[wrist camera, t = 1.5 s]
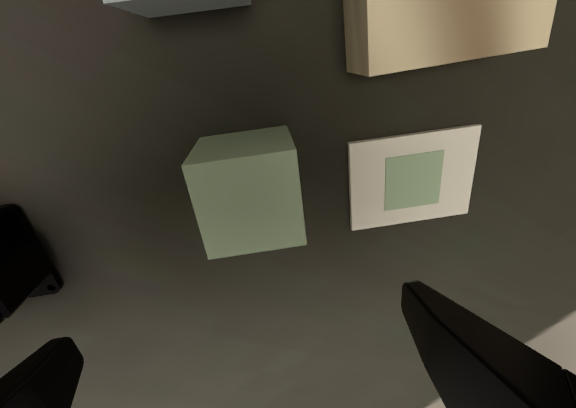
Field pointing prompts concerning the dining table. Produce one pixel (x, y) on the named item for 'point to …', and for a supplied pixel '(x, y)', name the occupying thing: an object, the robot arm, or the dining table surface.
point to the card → (411, 176)
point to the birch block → (439, 31)
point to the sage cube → (246, 192)
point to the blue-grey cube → (172, 6)
